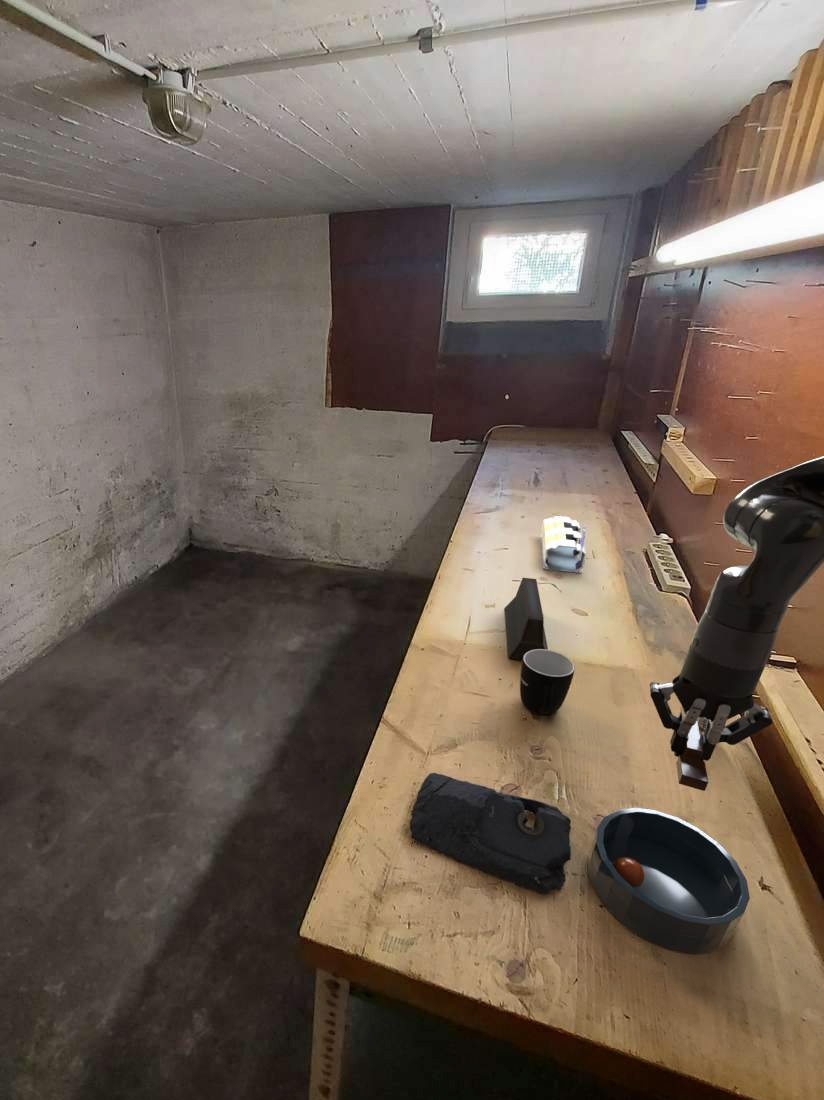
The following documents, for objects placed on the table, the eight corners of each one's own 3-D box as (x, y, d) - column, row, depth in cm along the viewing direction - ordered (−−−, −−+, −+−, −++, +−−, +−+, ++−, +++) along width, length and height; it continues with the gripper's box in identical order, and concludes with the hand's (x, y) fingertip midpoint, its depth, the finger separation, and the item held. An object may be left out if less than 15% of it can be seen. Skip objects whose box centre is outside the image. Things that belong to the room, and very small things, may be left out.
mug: (514, 687, 115) (522, 645, 110) (562, 695, 112) (572, 652, 108) (516, 725, 105) (524, 681, 100) (568, 735, 102) (580, 690, 97)
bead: (635, 871, 77) (641, 853, 75) (644, 895, 74) (651, 877, 72) (606, 866, 78) (612, 849, 76) (614, 891, 74) (621, 873, 73)
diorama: (582, 573, 160) (591, 530, 154) (542, 568, 163) (550, 526, 157) (575, 540, 180) (583, 502, 175) (540, 537, 184) (547, 499, 178)
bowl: (698, 846, 81) (711, 817, 78) (760, 967, 66) (778, 936, 64) (574, 829, 84) (582, 800, 81) (608, 940, 70) (619, 910, 67)
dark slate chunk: (427, 771, 95) (430, 749, 93) (570, 817, 86) (576, 795, 84) (401, 841, 83) (403, 818, 81) (564, 904, 74) (571, 880, 72)
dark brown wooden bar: (671, 726, 82) (677, 710, 80) (694, 732, 81) (700, 716, 79) (678, 783, 72) (685, 766, 71) (704, 791, 71) (712, 774, 70)
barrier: (550, 664, 121) (559, 625, 117) (507, 659, 124) (514, 620, 119) (541, 612, 141) (548, 576, 137) (504, 607, 144) (509, 572, 139)
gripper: (792, 647, 69) (744, 754, 76) (661, 622, 75) (628, 723, 82) (809, 681, 63) (755, 793, 70) (664, 651, 69) (629, 757, 76)
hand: (687, 755), depth 76 cm, fingers closed on dark brown wooden bar, 2 cm apart
